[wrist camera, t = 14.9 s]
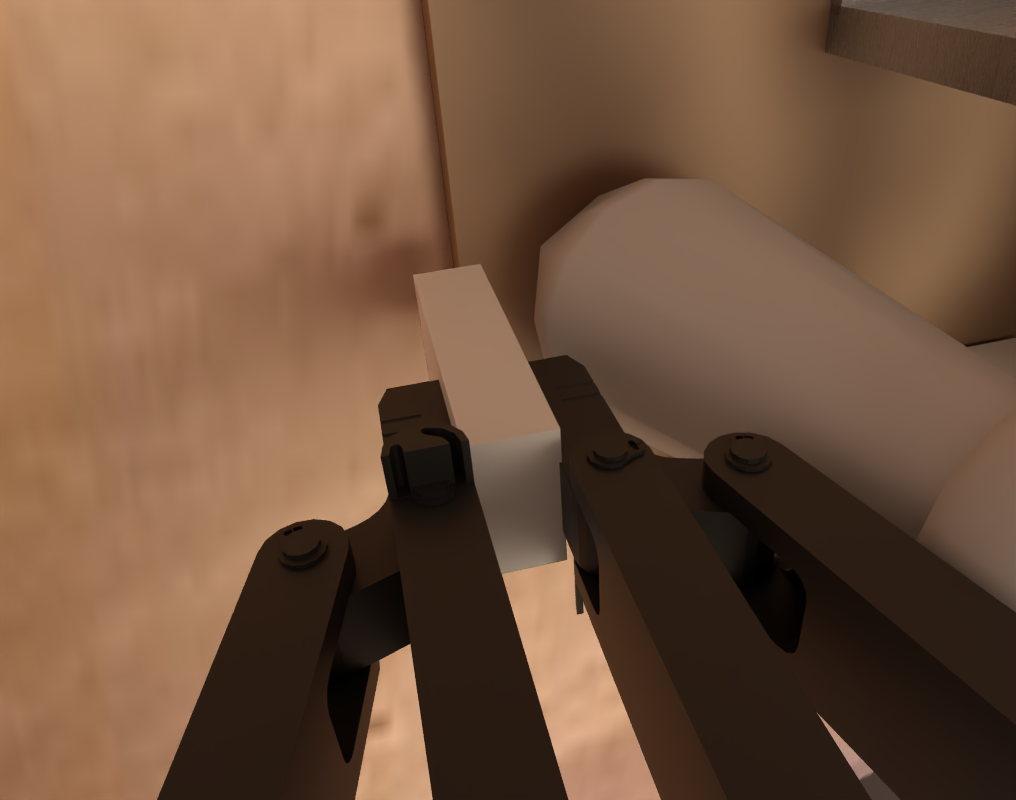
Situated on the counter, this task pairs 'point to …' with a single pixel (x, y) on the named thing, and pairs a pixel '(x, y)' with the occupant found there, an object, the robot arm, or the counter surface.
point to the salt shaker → (784, 363)
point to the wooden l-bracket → (720, 143)
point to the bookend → (932, 41)
